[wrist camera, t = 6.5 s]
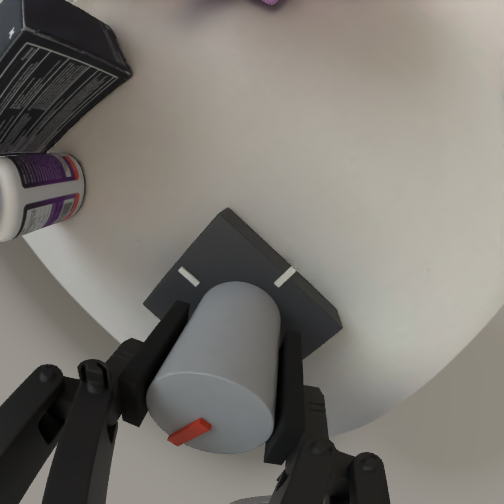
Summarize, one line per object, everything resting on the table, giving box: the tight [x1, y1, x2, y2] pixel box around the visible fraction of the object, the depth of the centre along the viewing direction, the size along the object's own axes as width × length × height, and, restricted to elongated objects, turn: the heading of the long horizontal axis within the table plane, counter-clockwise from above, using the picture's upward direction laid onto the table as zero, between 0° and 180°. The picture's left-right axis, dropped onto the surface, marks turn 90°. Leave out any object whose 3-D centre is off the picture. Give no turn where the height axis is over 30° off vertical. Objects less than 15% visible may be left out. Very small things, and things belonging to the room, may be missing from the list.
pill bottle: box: [0, 153, 84, 242], centre depth 14 cm, size 5×5×10 cm
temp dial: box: [146, 281, 281, 454], centre depth 13 cm, size 5×5×8 cm
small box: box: [0, 0, 131, 156], centre depth 11 cm, size 11×6×10 cm, turn 117°
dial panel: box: [143, 208, 343, 360], centre depth 18 cm, size 10×9×3 cm
